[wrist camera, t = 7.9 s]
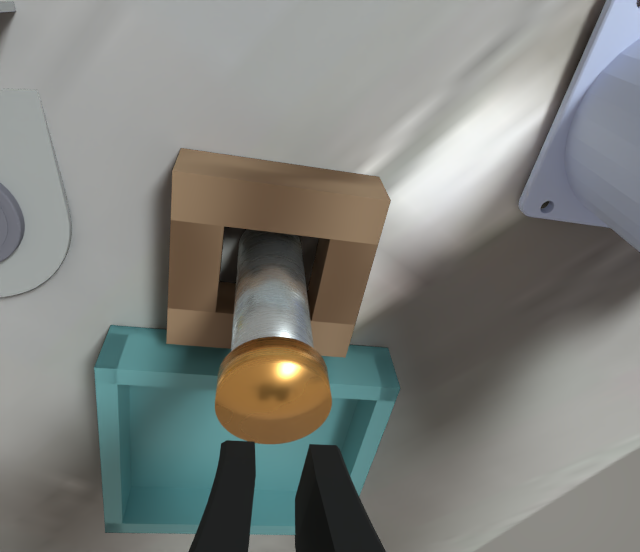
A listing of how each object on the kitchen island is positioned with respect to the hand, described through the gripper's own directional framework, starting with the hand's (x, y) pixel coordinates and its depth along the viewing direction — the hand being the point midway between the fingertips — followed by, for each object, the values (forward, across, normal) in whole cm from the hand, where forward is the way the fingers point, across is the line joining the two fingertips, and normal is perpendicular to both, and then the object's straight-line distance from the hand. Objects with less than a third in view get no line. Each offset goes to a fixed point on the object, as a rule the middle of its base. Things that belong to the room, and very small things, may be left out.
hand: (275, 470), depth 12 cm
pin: (+10, 0, 0) cm, 10 cm away
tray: (+10, 0, +10) cm, 14 cm away
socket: (+10, 0, 0) cm, 10 cm away
